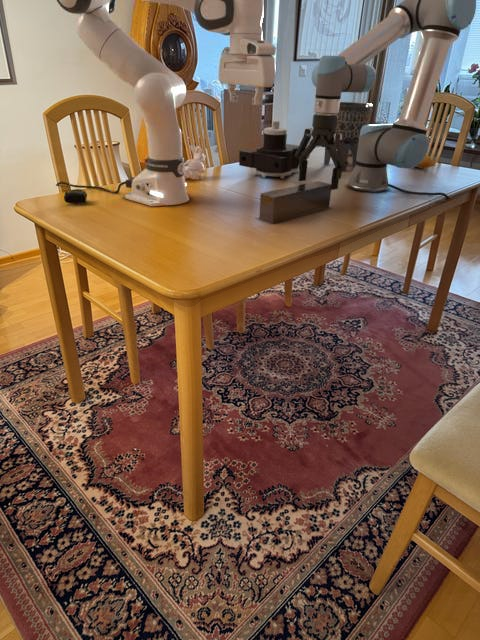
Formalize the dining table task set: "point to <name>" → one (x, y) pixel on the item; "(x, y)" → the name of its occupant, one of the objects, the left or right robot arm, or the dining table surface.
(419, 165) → the toy
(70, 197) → the tape measure
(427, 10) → the right robot arm
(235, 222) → the dining table surface
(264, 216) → the bar
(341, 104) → the planter
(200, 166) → the figurine
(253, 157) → the mechanical component
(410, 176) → the dining table surface
